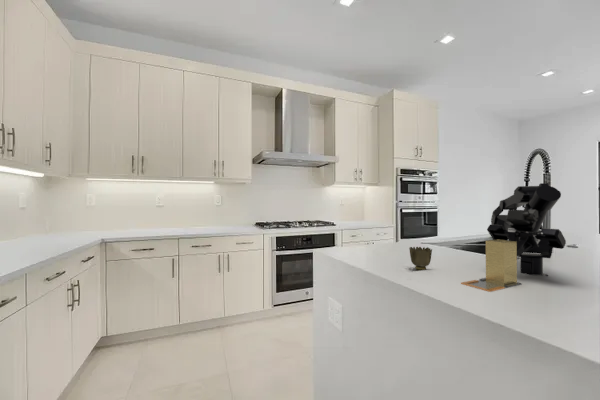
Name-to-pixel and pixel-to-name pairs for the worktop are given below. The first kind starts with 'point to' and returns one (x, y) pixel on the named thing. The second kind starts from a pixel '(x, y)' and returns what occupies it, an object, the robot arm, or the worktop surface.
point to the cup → (420, 257)
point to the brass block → (501, 262)
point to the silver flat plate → (487, 285)
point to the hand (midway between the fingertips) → (512, 256)
